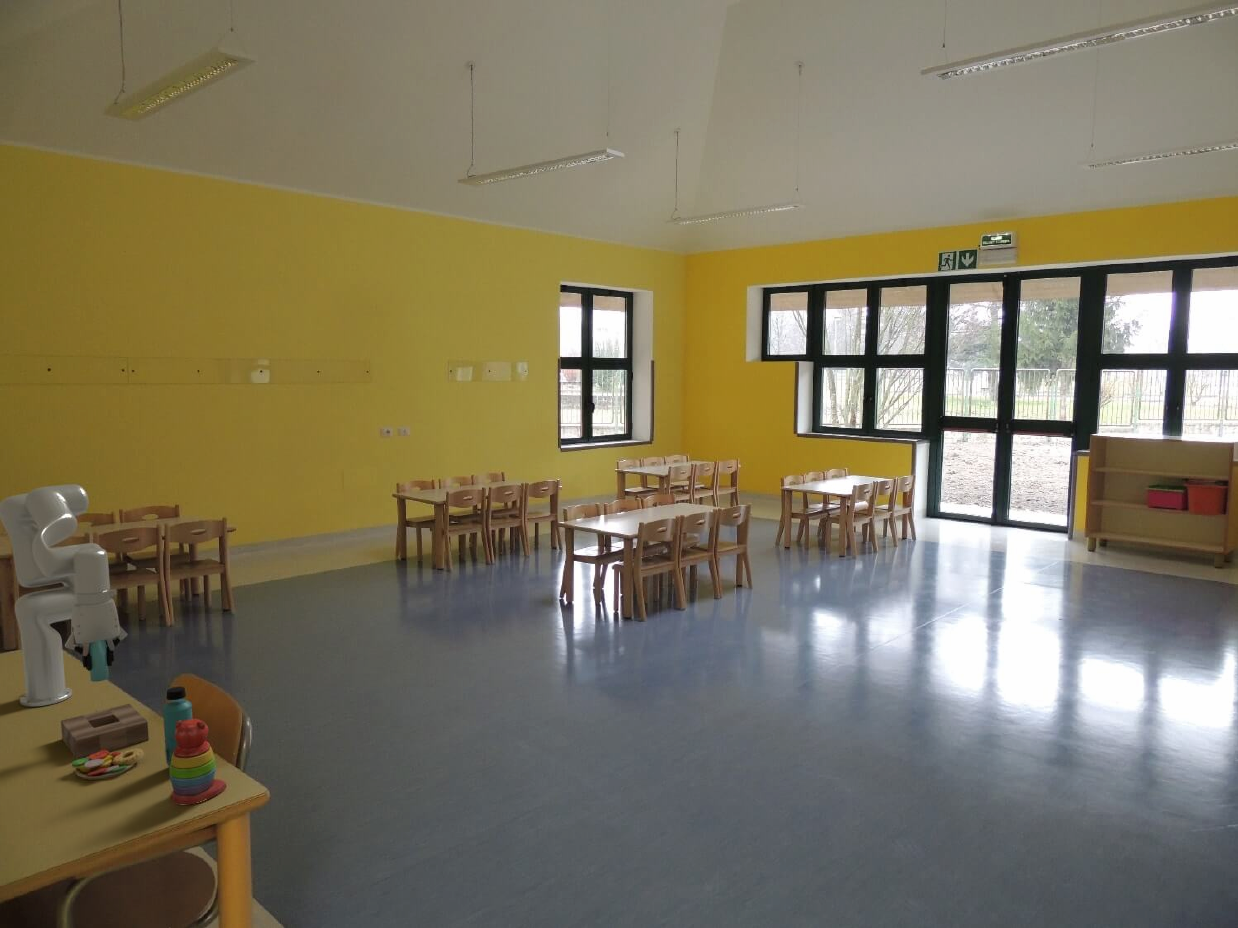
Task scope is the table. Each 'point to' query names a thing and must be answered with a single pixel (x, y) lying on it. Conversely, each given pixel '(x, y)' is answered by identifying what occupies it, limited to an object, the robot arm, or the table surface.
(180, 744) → the stacking bear
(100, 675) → the peg
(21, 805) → the table surface
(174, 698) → the beverage bottle
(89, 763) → the toy food set
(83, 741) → the socket block
